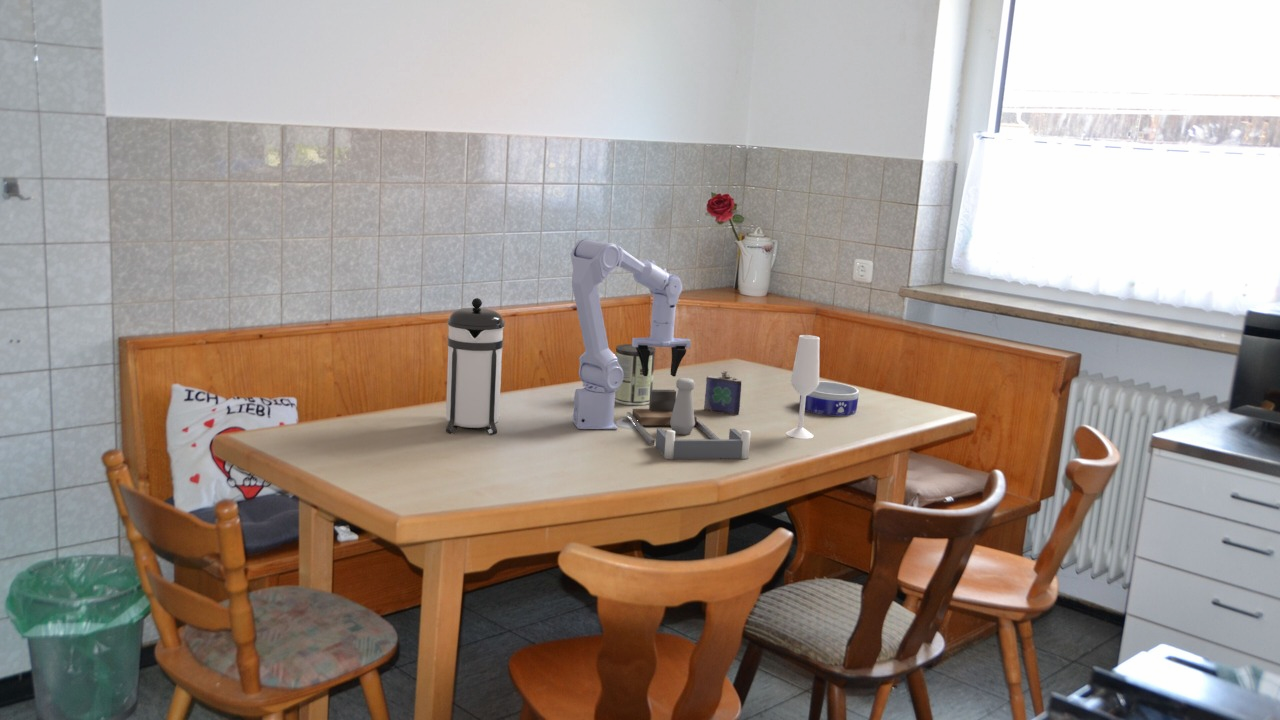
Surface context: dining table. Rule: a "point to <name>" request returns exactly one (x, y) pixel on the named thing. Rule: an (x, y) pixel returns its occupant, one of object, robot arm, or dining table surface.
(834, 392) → the dog bowl
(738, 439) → the frame
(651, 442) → the rails
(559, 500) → the dining table surface
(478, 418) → the coffee press
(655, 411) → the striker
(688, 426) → the salt shaker
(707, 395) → the flask
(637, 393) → the coffee can
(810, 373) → the champagne flute
